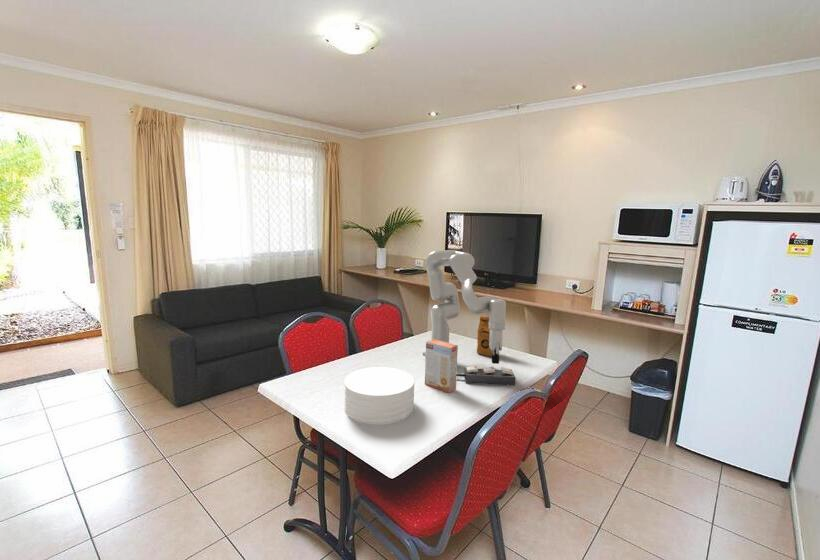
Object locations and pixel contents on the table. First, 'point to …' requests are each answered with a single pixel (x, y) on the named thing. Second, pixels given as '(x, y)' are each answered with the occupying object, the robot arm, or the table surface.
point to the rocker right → (507, 370)
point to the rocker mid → (488, 369)
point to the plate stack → (379, 395)
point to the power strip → (488, 377)
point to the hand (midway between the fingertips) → (495, 362)
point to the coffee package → (483, 337)
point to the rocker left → (472, 369)
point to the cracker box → (441, 365)
